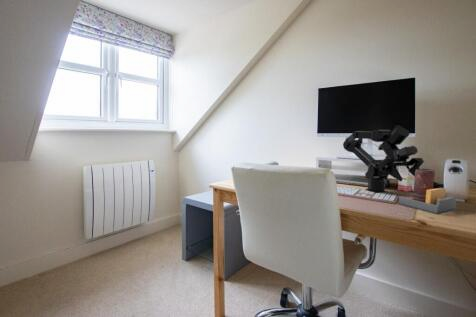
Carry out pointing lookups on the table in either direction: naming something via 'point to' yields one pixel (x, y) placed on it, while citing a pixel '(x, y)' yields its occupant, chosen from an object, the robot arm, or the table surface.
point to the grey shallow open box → (431, 205)
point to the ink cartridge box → (406, 180)
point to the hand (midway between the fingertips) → (411, 180)
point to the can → (423, 183)
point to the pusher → (434, 195)
